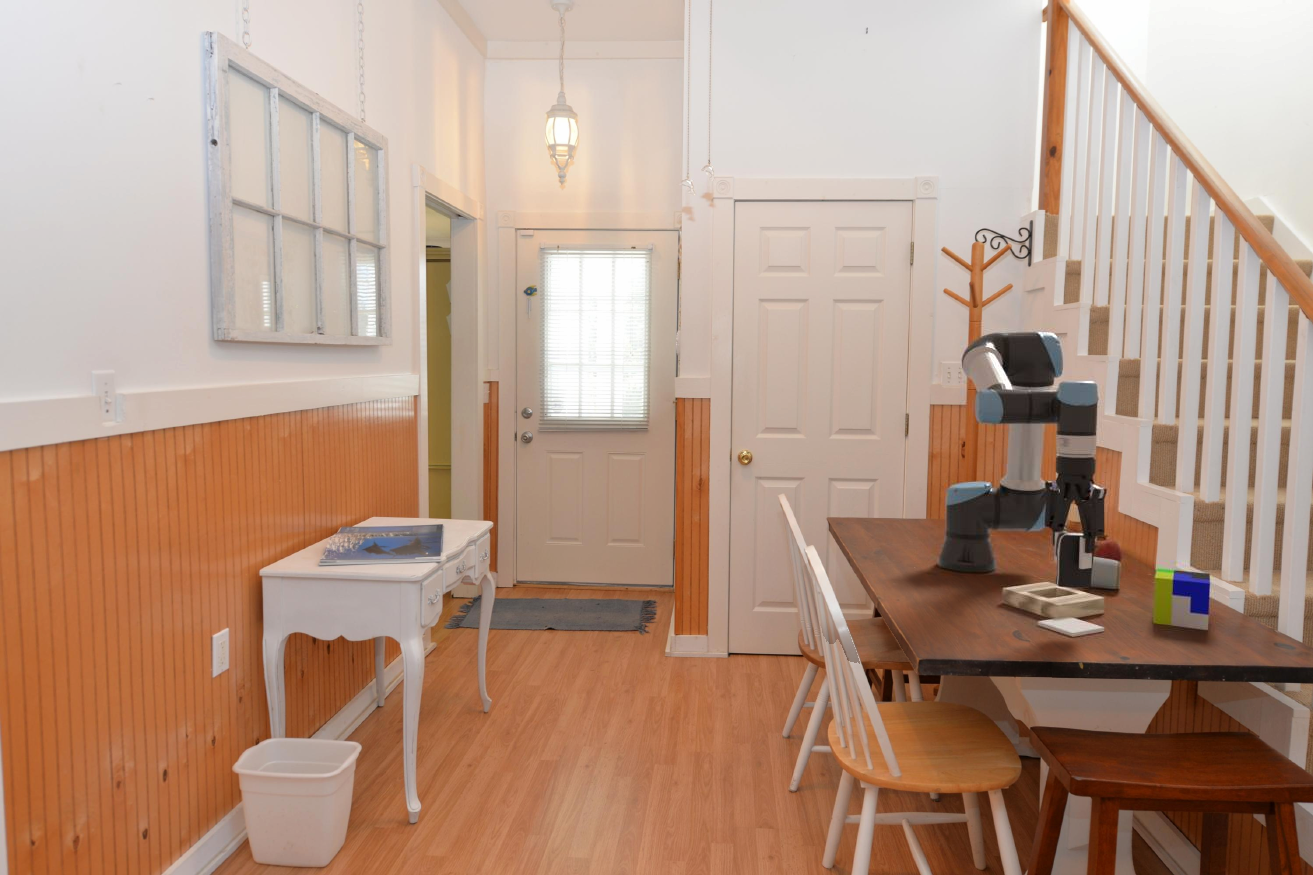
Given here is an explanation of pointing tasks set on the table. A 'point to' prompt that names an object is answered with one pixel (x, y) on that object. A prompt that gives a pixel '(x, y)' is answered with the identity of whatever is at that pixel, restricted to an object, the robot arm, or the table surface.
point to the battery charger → (1071, 562)
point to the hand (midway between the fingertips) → (1072, 564)
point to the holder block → (1053, 600)
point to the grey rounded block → (1105, 573)
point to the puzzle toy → (1181, 598)
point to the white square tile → (1071, 626)
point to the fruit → (1107, 549)
